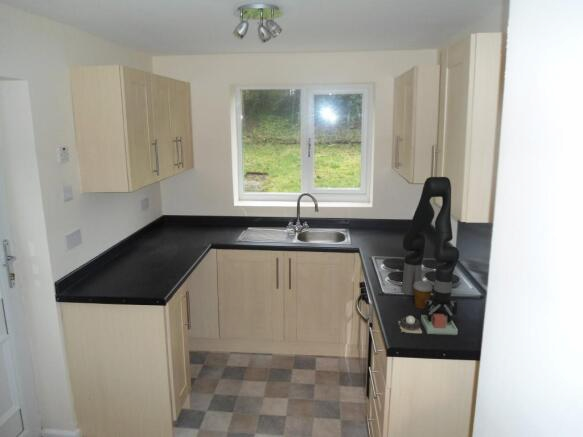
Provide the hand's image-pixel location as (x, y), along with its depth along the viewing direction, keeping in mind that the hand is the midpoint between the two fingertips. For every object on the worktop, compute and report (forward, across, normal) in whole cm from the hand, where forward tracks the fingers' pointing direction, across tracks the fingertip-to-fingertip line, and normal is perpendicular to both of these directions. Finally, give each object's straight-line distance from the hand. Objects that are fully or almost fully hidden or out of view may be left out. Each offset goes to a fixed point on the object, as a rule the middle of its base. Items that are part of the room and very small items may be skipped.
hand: (438, 321), depth 206 cm
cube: (+2, 0, 0) cm, 2 cm away
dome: (+1, +14, +2) cm, 14 cm away
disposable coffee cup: (+3, +3, -22) cm, 22 cm away
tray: (+3, 0, 0) cm, 3 cm away
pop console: (+3, +14, +2) cm, 14 cm away
